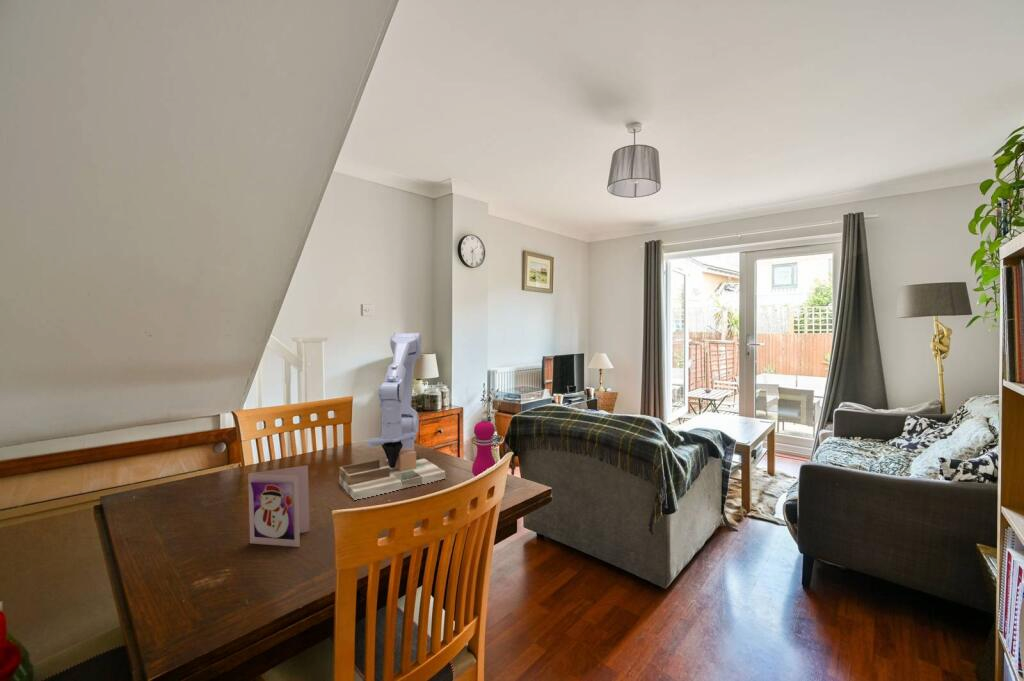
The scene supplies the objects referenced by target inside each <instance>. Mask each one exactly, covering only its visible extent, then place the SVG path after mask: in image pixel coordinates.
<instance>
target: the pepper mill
mask: <svg viewBox="0 0 1024 681" xmlns="http://www.w3.org/2000/svg"><path fill="white" fill-rule="evenodd" d="M480 419H481V421H478V422H477V423H475V425H474V428H473V433H474V435H475V436H476V437H475V444H476V445H477V451H476V452H477V453H476V456H475V458H474V460H473V463H472V466H471V473H472V474H473V476H474V477H475V476H477V475H478V474H480V473H482V472H483V471H485V470H486V469H487V468H489V467H491V466H493V465H494V464H495V463H496V462H497V461H496V460H495V458H494V456H493V453H492V444H493V443H494V438H493V436H494V435H495V432H496V431H495V430H496V429H495V426H494V424H493V423H492V422H491V421H488V416H486V415H483V416H481V417H480ZM496 464H497V463H496Z"/></svg>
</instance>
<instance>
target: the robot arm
mask: <svg viewBox="0 0 1024 681" xmlns="http://www.w3.org/2000/svg"><path fill="white" fill-rule="evenodd" d="M389 341H390V343H389V345H390V348H391V352H392V354H393V359H392V363H391V364H389V365H388V366H387V370H386V373H385V376H384V380H383V382H382V383H380V384H379V386H378V391H377V392H378V393H377V394H378V400H379V408H381V409H380V410H381V436H377V437H373V438H369V439H366V440H365V441H366V443H365V445H366V447H367V448H368V449H370V448H373V447H377V446H381V448H382V449H383V451H384V453H385V456H386V460H385V461H386V462H387V463H388V466H389V467H390V468H395V465H396V461H397V457H398V454H399V452H400V450H402V449H408V448H411V449H412V450H414V451H415V441H416V440H417V435H418V433H419V430H420V428H419V427H420V419H419V418H420V416H419V413H418V411H417V410H415V409H414V408H413V407H412V400H413V399H412V397H413V387H414V386H413V385H414V384H413V383H414V374H415V372H414V371H415V365H416V362H417V360H419V359H421V355H422V347H423V346H422V345H423V343H422V341H423V339H422V334H420V332H410V333H409V332H407V333H406V332H402V333H401V332H393V333H392V334H391V335H390V338H389Z"/></svg>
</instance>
